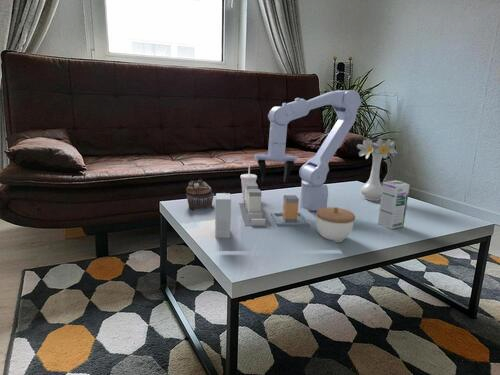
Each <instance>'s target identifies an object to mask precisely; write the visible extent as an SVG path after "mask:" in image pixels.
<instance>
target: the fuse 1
mask: <svg viewBox="0 0 500 375" xmlns="http://www.w3.org/2000/svg"><path fill="white" fill-rule="evenodd" d="M248 189H259V184H257V182H256V183H246V185H245V206H246V203H247V200H248Z"/></svg>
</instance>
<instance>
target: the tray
mask: <svg viewBox="0 0 500 375" xmlns="http://www.w3.org/2000/svg"><path fill="white" fill-rule="evenodd" d="M277 216H283V212H271V217H272V219H273V222H274V223H275V225H276V226H277V227H283V226H285V227H286V226H287V227H291V226H292V227H296V226H297V227H302V226H303V227H304V226H305V227H306V226H307V227H308V226H309V227H310V222H309V221H308V220H307V218H306V217H305V215H304V214H303V213H302V212H298V217H299V218H301V220H302V222H280V221H279V220H278V218H277Z"/></svg>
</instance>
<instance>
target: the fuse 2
mask: <svg viewBox="0 0 500 375" xmlns="http://www.w3.org/2000/svg"><path fill="white" fill-rule="evenodd" d="M261 205H262V191H261V189H259V188H258V189H248V200H247V213H248V210H261Z"/></svg>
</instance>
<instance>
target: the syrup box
mask: <svg viewBox="0 0 500 375" xmlns="http://www.w3.org/2000/svg"><path fill="white" fill-rule="evenodd" d="M410 185H411V184H410V183H407V182H405V181H401V180H390V181H383V182H382V186H383V187H382V195H381V198H380V205H379V212H378V217H377V218H378V220H377V224H378V225H380V226H383V227H384V228H388V229H390V230H393V229H398V228H404V225H405V218H406V213H407V212H406V210H407V205H408V200H409V199H408V198H409V194H410V193H409V191H410V187H411V186H410Z"/></svg>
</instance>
